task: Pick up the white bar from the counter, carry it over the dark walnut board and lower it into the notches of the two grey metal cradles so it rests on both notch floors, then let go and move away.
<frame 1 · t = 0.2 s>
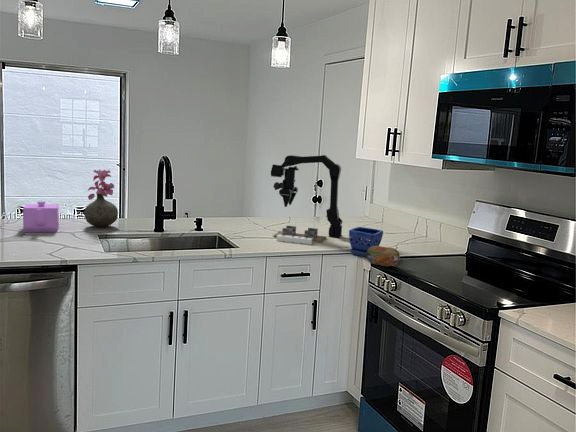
hand: (287, 205, 301), 15 cm above the counter, tool pointing down, fingers open, 9 cm apart
vase: (100, 227, 283), on the counter
tin: (382, 265, 241), on the counter
white bar: (294, 242, 277), on the counter
flower pot: (364, 254, 259), on the counter
cradle board: (299, 237, 288), on the counter
pink lidded box: (41, 230, 268), on the counter
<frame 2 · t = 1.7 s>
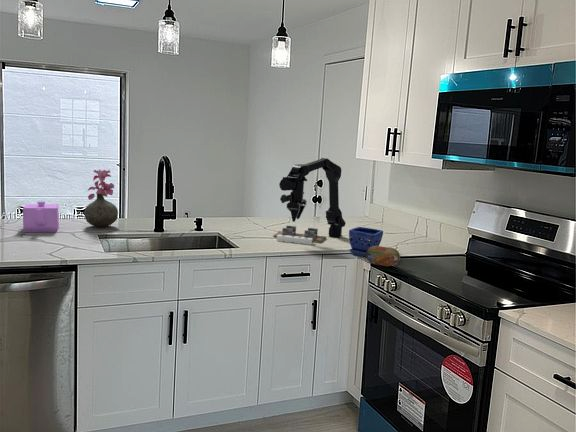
hand: (295, 220, 275), 11 cm above the counter, tool pointing down, fingers open, 9 cm apart
nothing on the counter moved.
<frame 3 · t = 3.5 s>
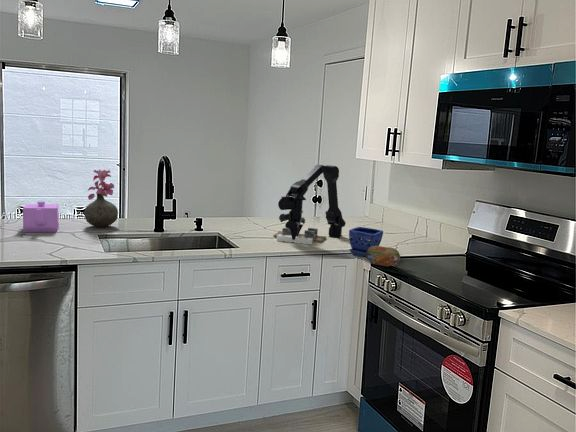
hand: (294, 239, 276), 2 cm above the counter, tool pointing down, fingers closed on white bar, 4 cm apart
white bar: (294, 242, 277), on the counter, touching gripper
everything else where it was.
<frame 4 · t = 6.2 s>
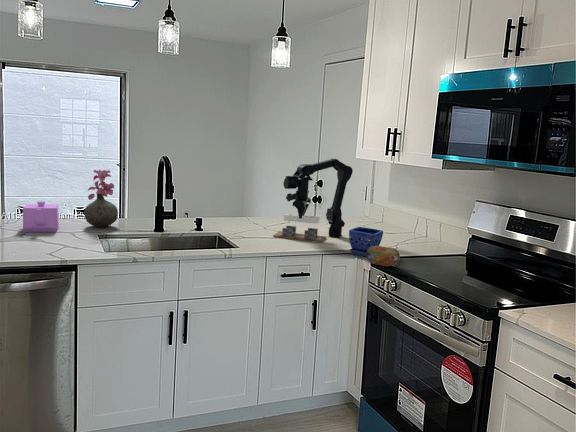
hand: (301, 217, 286), 11 cm above the counter, tool pointing down, fingers closed on white bar, 4 cm apart
white bar: (301, 221, 286), point 9 cm above the counter, touching gripper
everything else where it was.
when the fingers open (5 cm above the counter, at t = 7.9 s): white bar stays where it is, resting on cradle board.
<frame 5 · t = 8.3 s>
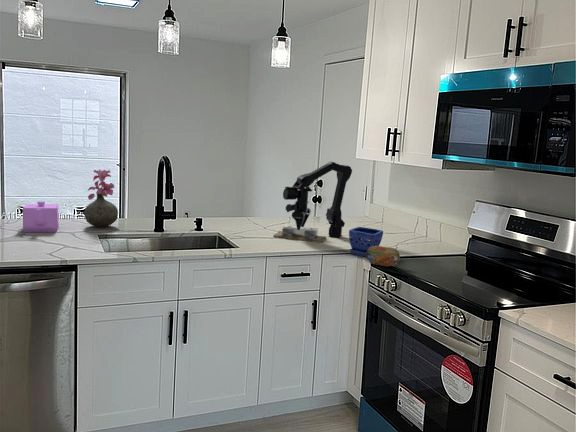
hand: (300, 228, 287), 5 cm above the counter, tool pointing down, fingers open, 9 cm apart
white bar: (300, 233, 288), point 2 cm above the counter, touching cradle board
everything else where it was.
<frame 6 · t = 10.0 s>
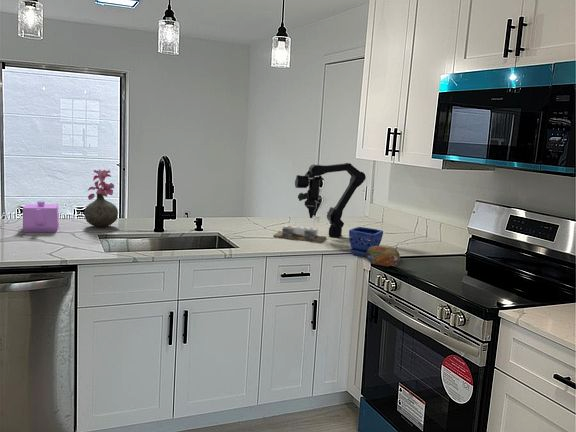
hand: (312, 216, 292), 11 cm above the counter, tool pointing down, fingers open, 9 cm apart
nothing on the counter moved.
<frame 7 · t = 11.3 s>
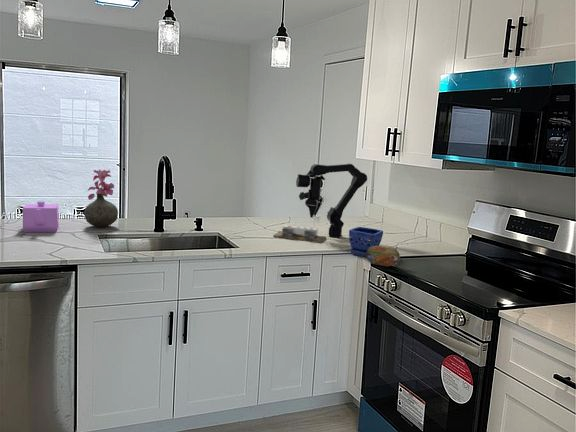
hand: (313, 216, 293), 11 cm above the counter, tool pointing down, fingers open, 9 cm apart
nothing on the counter moved.
at the end: white bar 0.1 cm off-centre on the cradle board, point 2.5 cm above the cradle board's base; white bar tilted 0°; the gripper is holding nothing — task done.
